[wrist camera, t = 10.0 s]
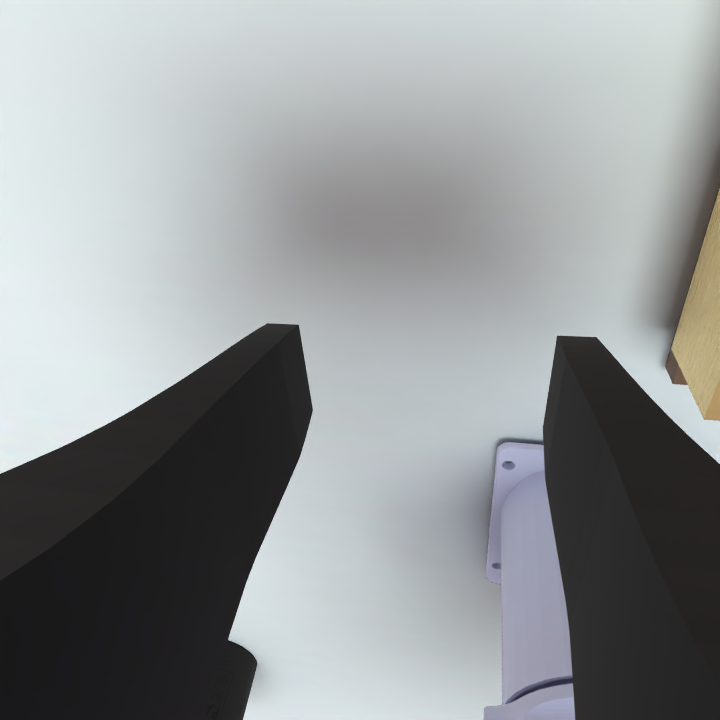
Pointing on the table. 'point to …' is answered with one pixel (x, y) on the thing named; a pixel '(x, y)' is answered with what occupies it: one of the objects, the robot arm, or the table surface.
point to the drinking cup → (232, 684)
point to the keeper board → (672, 363)
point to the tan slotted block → (703, 325)
